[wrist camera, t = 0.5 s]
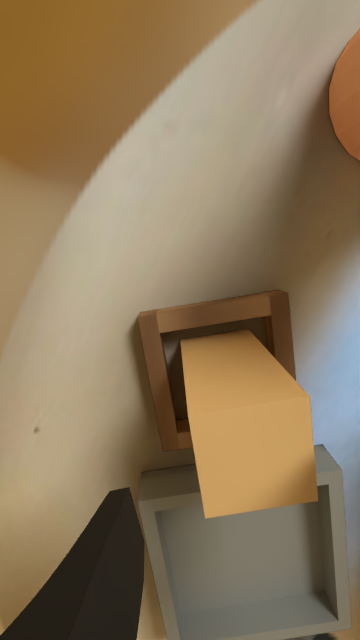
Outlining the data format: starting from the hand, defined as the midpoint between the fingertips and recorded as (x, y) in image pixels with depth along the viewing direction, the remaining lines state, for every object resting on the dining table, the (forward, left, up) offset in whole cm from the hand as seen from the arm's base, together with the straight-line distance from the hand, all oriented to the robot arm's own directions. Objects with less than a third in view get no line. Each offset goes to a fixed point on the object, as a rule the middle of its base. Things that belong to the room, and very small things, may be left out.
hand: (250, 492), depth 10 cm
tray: (0, +12, -10) cm, 16 cm away
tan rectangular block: (0, 0, -10) cm, 10 cm away
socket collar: (0, 0, -10) cm, 10 cm away
